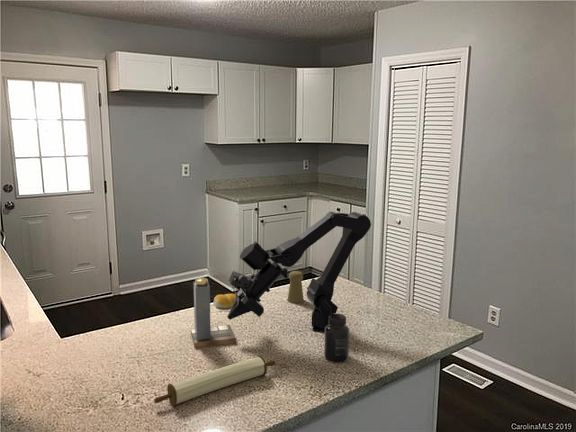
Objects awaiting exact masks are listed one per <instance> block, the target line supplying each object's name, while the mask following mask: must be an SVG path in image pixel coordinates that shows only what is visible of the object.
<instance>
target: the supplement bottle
mask: <svg viewBox="0 0 576 432" xmlns="http://www.w3.org/2000/svg"><path fill="white" fill-rule="evenodd" d="M328 323H329V324H328V325H326V327H325V331H324V342H323V343H324V344H323V345H324V346H323V348H324V349H323V351H324V352H323V354H324V358H325V359H326V360H327V361H329V362H332V363H343V362H346V361H348V360H349V355H350V328H349V326H348V325H347V316H346V315H344V314H343V313H342V314H341V313H335V314H331V315H329V320H328Z"/></svg>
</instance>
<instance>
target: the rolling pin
mask: <svg viewBox="0 0 576 432" xmlns="http://www.w3.org/2000/svg"><path fill="white" fill-rule="evenodd" d="M276 364H277V362H276V360H270V361H267V362H266V359H265V358H264V357H263V356H262V355H259V356H257V357H254V358H251V359H247V360H243V361H240V362H236V363H233V364H230V365H226V366H223V367H220V368H217V369H214V370H213V369H212V370H211V371H207V372H204V373H201V374H198V375H194V376H192V377H188V378H186V379H183V380H180V381H177V382H173V383H168V384H167V388H166V389H167V391H166V392H167V393H166V394H164V395H160V396H157V397H155V398H154V400H153V401H154V403H155V404H159V403H161V402H163V401H166V400H168V401H169V404H171V406H172V407H175V406H176V405H178V404H181V403H183V402H186V401H189V400H191V399H192V400H193V399H194V398H197V397H200V396H203V395H205V394H209V393H211V392H214V391H216V390H219V389H222V388H226V387H229V386H232V385H234V384H237V383H241V382H244V381H247V380H251V379H253V378H256V377H260V376H262V377H265V375H267V371H268V368H267V367H271V366H275V365H276Z"/></svg>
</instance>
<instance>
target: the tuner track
mask: <svg viewBox="0 0 576 432" xmlns="http://www.w3.org/2000/svg"><path fill="white" fill-rule="evenodd" d="M210 328H211V339H204V340H197V339H196V336H195V327H194V328H190V334H191V339H192V342H193V347H194V349H195V348H204V347H211V346H220V345H228V344H229V345H230V344H236V343H237V342H236V341H237V340H236V339H237V338H236V335H235V333H234V331H233V329H232V327H231V325H230V324H222V325H212V326H210Z"/></svg>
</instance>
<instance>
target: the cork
mask: <svg viewBox="0 0 576 432" xmlns="http://www.w3.org/2000/svg"><path fill="white" fill-rule="evenodd" d="M288 279H289V287H288V293H287V299H286V300H287V302H288V303H290V304H294V303H295V304H297V305H298V304H302V303H304V301H305V300H304V292H303V283H302V282H303V279H304V275H303V272H302V271H299V270H293V271H290V272H289V273H288Z"/></svg>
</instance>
